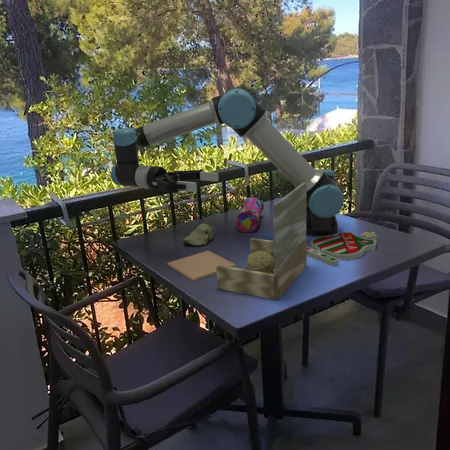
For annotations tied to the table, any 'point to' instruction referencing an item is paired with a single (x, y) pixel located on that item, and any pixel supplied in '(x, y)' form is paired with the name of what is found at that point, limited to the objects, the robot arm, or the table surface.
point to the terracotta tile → (199, 265)
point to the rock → (200, 236)
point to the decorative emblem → (341, 246)
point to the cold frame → (274, 252)
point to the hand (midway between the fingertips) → (207, 182)
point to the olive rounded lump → (260, 262)
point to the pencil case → (250, 215)
